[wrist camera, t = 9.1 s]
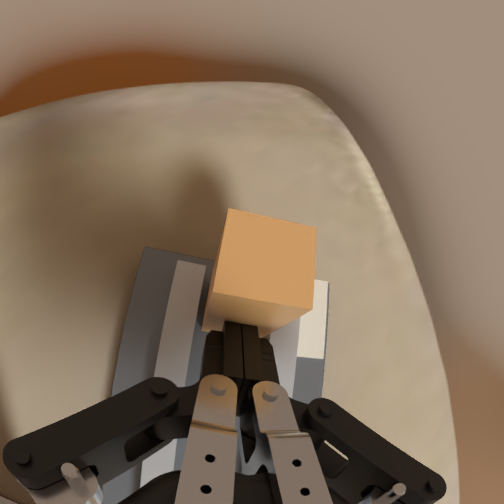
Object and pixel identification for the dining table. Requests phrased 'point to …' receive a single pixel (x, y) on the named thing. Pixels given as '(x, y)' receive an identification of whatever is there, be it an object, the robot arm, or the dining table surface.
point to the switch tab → (261, 273)
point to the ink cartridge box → (6, 501)
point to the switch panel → (199, 348)
